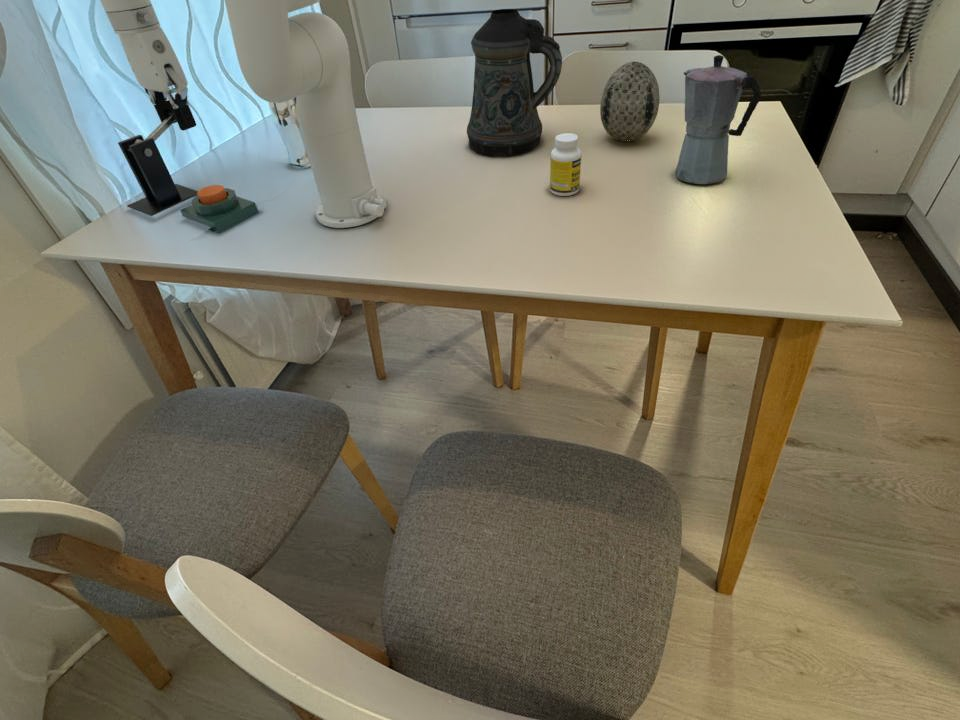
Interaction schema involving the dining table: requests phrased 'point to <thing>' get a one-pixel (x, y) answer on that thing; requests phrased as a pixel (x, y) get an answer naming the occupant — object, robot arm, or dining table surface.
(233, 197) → the block
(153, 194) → the lever bracket
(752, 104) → the moka pot
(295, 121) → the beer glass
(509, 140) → the beer stein
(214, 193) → the button
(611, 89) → the decorative egg
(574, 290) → the dining table surface
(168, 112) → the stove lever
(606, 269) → the dining table surface
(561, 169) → the supplement bottle
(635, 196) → the dining table surface
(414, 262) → the dining table surface
